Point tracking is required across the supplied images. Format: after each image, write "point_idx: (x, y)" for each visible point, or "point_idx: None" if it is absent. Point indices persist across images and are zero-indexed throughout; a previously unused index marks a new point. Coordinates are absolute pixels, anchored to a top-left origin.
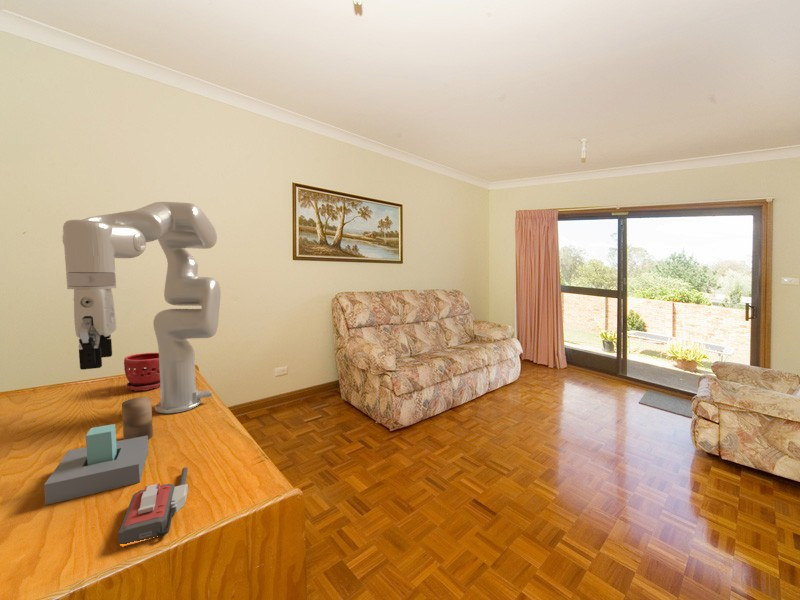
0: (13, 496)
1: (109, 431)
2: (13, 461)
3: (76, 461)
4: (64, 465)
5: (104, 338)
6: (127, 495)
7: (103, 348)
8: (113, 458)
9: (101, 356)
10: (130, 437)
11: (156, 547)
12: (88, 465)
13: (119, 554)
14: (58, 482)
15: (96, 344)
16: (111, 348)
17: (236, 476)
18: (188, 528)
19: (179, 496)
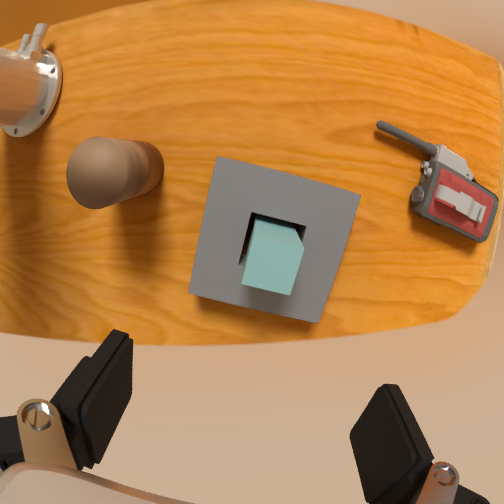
0: (247, 338)
1: (302, 252)
2: None
3: None
4: (260, 300)
5: (76, 439)
6: (376, 213)
7: (111, 396)
8: (288, 228)
9: (131, 373)
10: (153, 184)
11: None
12: None
13: None
14: (323, 306)
15: (455, 483)
16: (105, 359)
17: (435, 75)
18: (493, 174)
19: (463, 165)
